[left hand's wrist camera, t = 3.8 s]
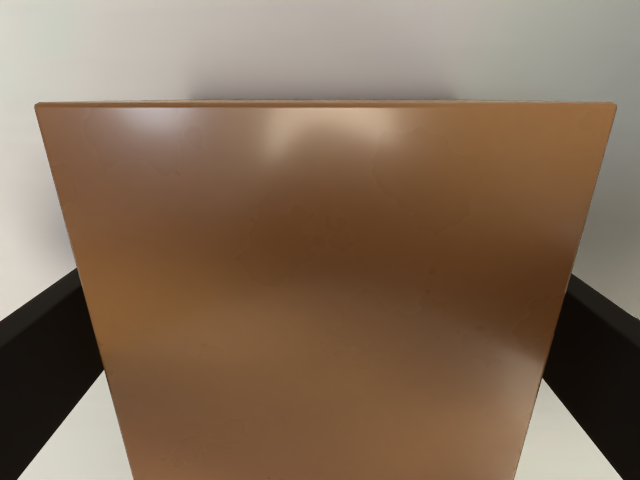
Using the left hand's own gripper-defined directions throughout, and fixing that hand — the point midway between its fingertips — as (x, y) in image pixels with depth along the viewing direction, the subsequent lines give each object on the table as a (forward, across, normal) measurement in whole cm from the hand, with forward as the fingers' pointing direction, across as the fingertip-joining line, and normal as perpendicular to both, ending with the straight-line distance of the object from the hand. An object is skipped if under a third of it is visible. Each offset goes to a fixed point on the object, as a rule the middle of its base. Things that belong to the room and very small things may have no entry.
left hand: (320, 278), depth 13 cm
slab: (+2, 0, -24) cm, 24 cm away
